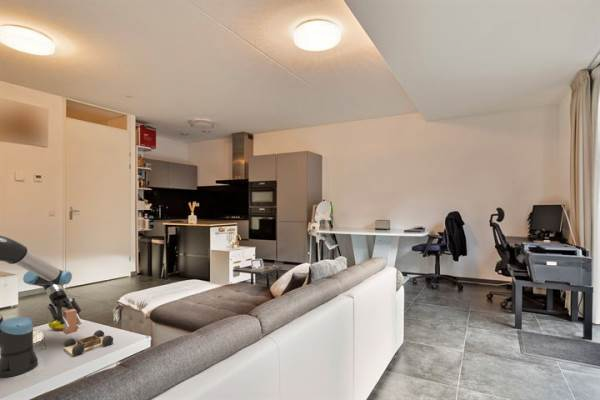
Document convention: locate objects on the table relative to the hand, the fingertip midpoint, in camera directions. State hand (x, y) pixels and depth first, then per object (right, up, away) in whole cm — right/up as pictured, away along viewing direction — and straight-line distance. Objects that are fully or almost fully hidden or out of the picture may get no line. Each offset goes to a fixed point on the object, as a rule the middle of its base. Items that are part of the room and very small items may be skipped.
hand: (74, 325), depth 181 cm
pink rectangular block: (-3, -4, +1) cm, 5 cm away
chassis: (+11, -10, -4) cm, 15 cm away
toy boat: (-22, -11, +22) cm, 33 cm away
